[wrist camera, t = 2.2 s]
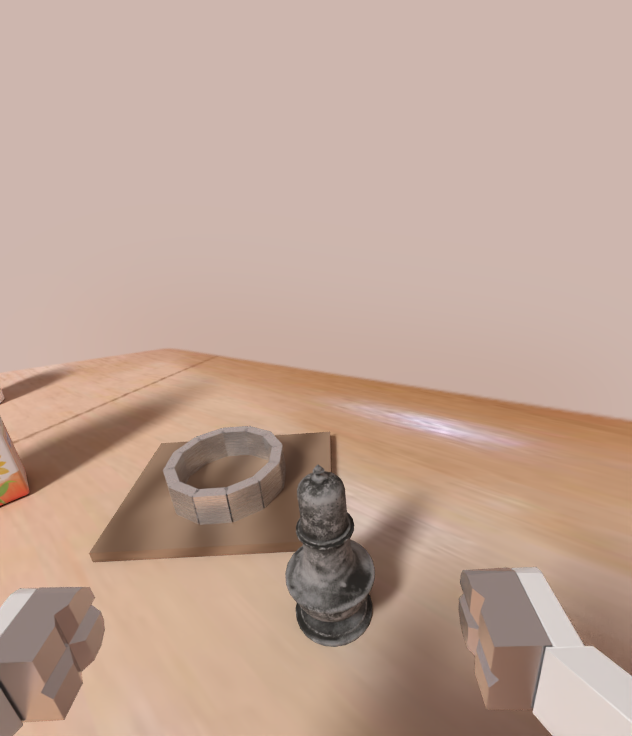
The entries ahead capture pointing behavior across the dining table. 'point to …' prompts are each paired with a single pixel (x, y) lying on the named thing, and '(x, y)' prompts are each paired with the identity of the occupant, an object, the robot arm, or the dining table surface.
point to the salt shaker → (329, 565)
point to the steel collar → (231, 499)
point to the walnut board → (188, 539)
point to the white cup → (1, 396)
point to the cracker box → (10, 470)
